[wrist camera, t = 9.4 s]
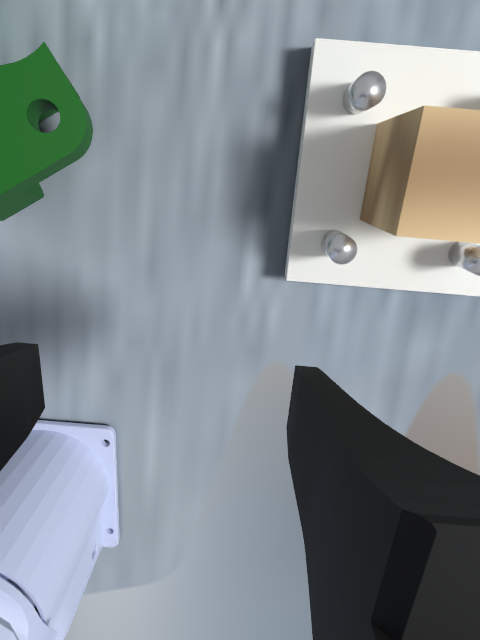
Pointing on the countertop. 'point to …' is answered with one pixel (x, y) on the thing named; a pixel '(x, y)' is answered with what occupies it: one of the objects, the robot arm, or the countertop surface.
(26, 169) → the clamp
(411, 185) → the block
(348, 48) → the plate
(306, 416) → the robot arm
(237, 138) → the countertop surface
